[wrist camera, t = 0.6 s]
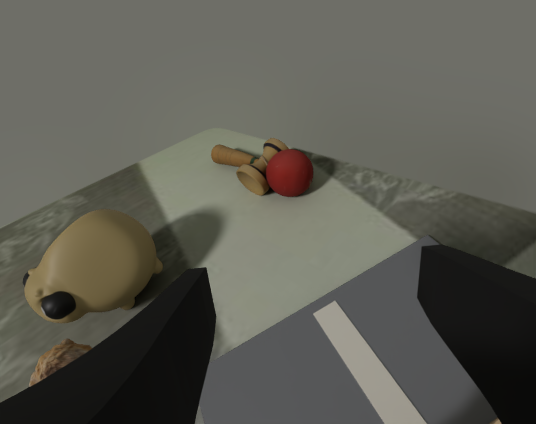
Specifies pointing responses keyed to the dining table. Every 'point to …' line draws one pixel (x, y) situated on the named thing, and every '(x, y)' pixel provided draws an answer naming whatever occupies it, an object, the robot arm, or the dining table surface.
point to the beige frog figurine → (92, 267)
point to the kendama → (269, 168)
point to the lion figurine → (57, 359)
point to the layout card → (348, 361)
